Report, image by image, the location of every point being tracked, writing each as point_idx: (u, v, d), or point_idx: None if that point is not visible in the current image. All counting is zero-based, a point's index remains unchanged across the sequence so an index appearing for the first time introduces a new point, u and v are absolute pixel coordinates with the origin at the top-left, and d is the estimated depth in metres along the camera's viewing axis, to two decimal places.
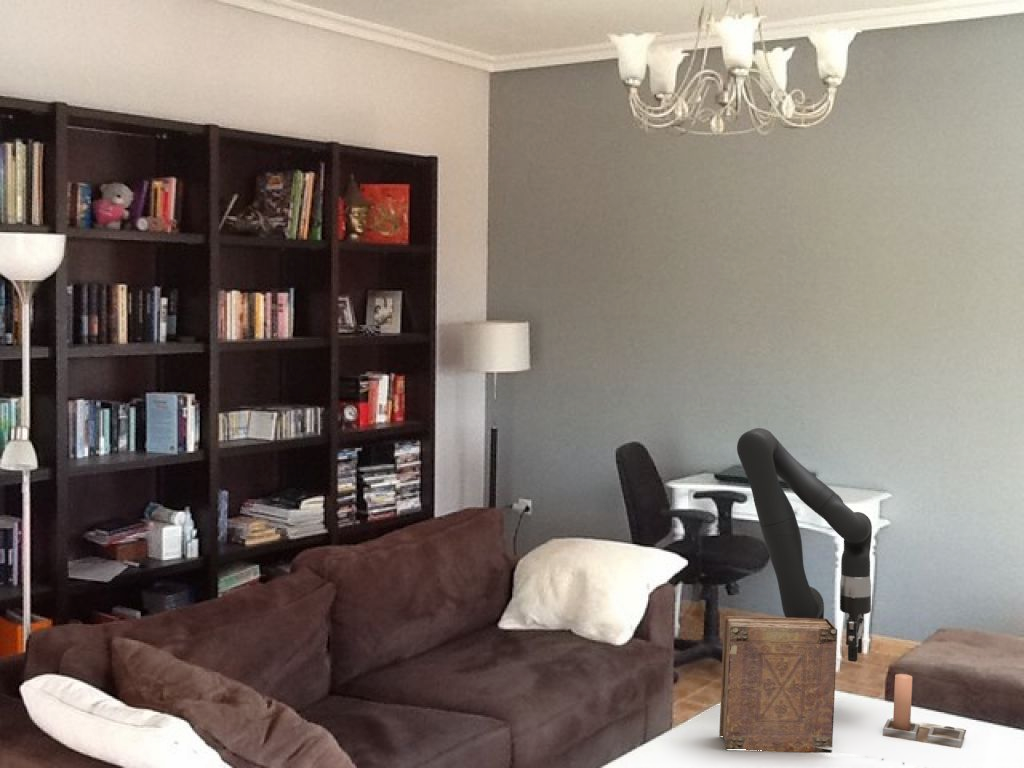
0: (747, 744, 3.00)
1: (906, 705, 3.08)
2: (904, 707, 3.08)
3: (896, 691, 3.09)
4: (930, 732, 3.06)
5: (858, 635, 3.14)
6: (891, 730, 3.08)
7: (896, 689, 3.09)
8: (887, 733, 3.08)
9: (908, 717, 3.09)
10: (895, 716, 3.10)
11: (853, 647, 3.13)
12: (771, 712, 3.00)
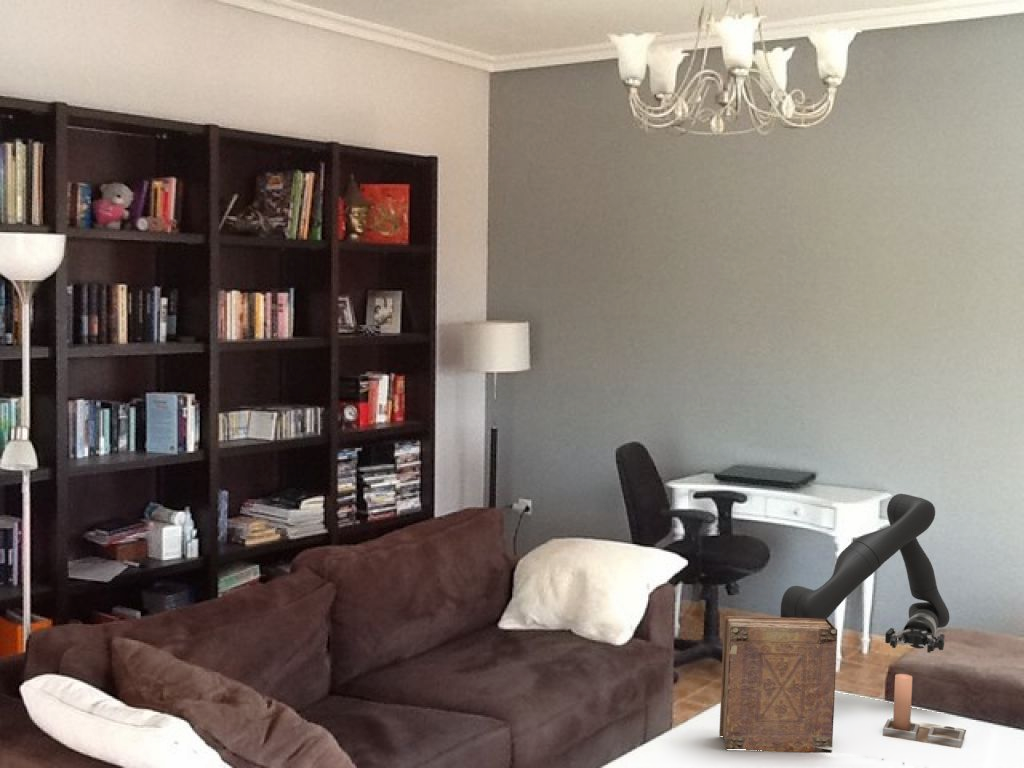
0: (747, 744, 3.00)
1: (906, 705, 3.08)
2: (904, 707, 3.08)
3: (896, 691, 3.09)
4: (930, 732, 3.06)
5: None
6: (891, 730, 3.08)
7: (896, 689, 3.09)
8: (887, 733, 3.08)
9: (908, 717, 3.09)
10: (895, 716, 3.10)
11: (935, 646, 3.20)
12: (771, 712, 3.00)
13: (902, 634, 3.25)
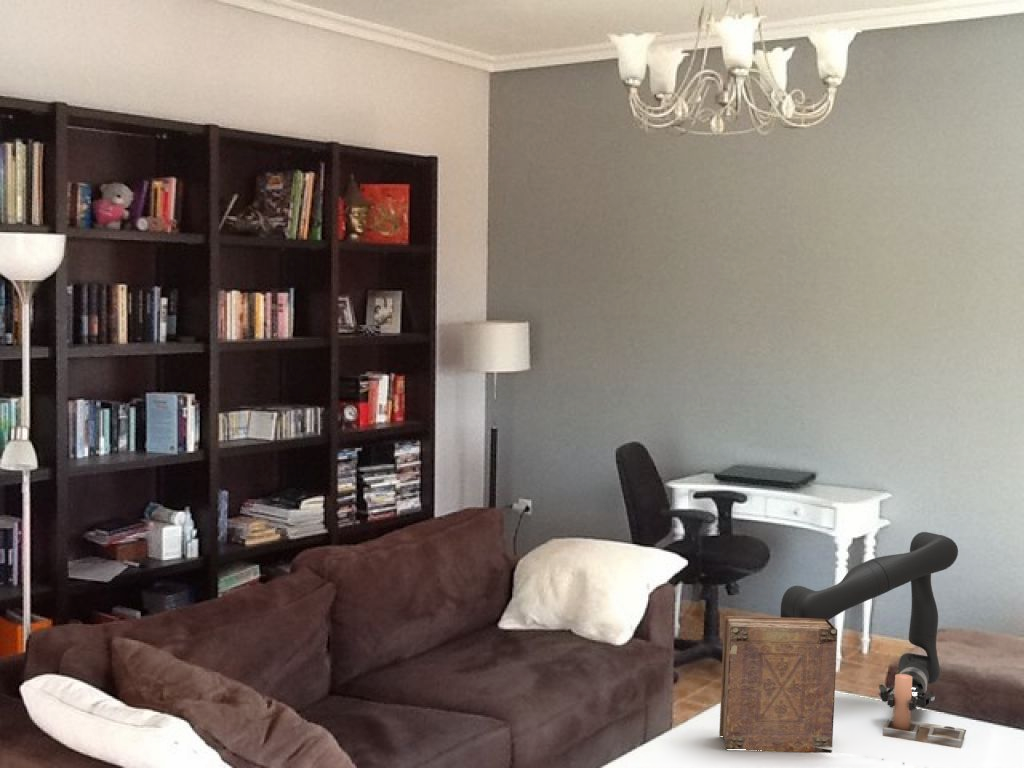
0: (747, 744, 3.00)
1: (906, 705, 3.08)
2: (904, 707, 3.08)
3: (896, 691, 3.09)
4: (930, 732, 3.06)
5: None
6: (891, 730, 3.08)
7: (896, 689, 3.09)
8: (887, 733, 3.08)
9: (908, 717, 3.09)
10: (895, 716, 3.10)
11: (916, 704, 3.09)
12: (771, 712, 3.00)
13: None
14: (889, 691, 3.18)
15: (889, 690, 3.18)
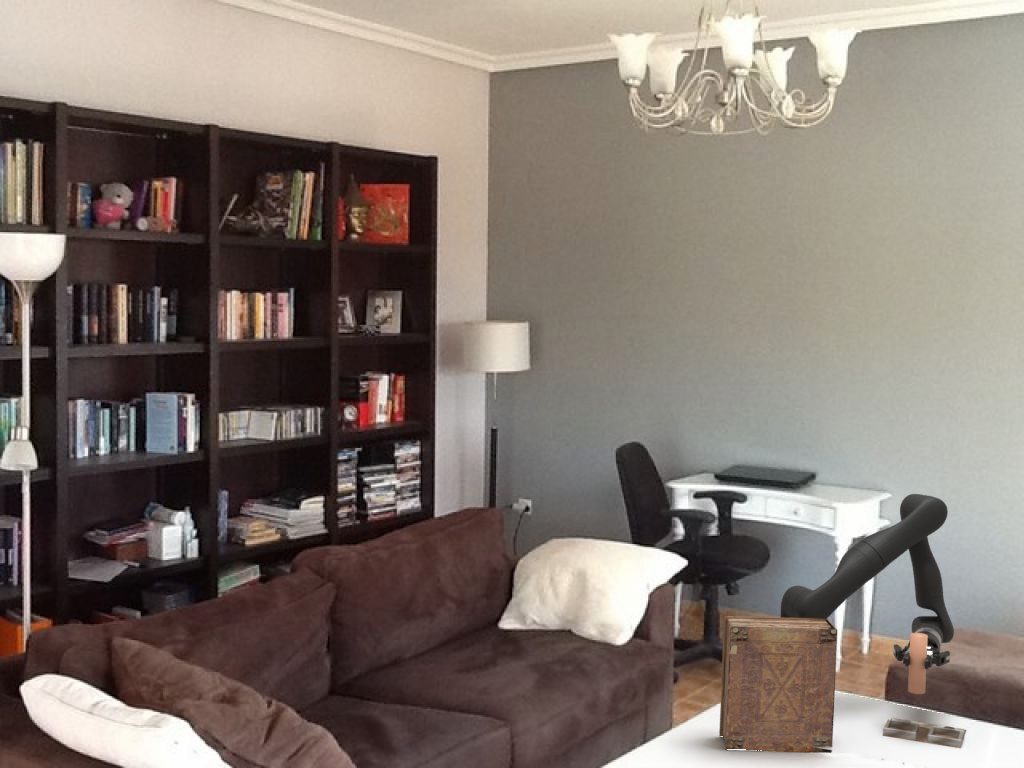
0: (747, 744, 3.00)
1: (922, 663, 3.06)
2: (920, 665, 3.06)
3: (911, 650, 3.07)
4: (930, 732, 3.06)
5: None
6: (891, 730, 3.08)
7: (911, 648, 3.07)
8: (887, 733, 3.08)
9: (923, 676, 3.07)
10: (910, 675, 3.08)
11: (931, 662, 3.08)
12: (771, 712, 3.00)
13: None
14: (904, 651, 3.16)
15: (904, 650, 3.16)
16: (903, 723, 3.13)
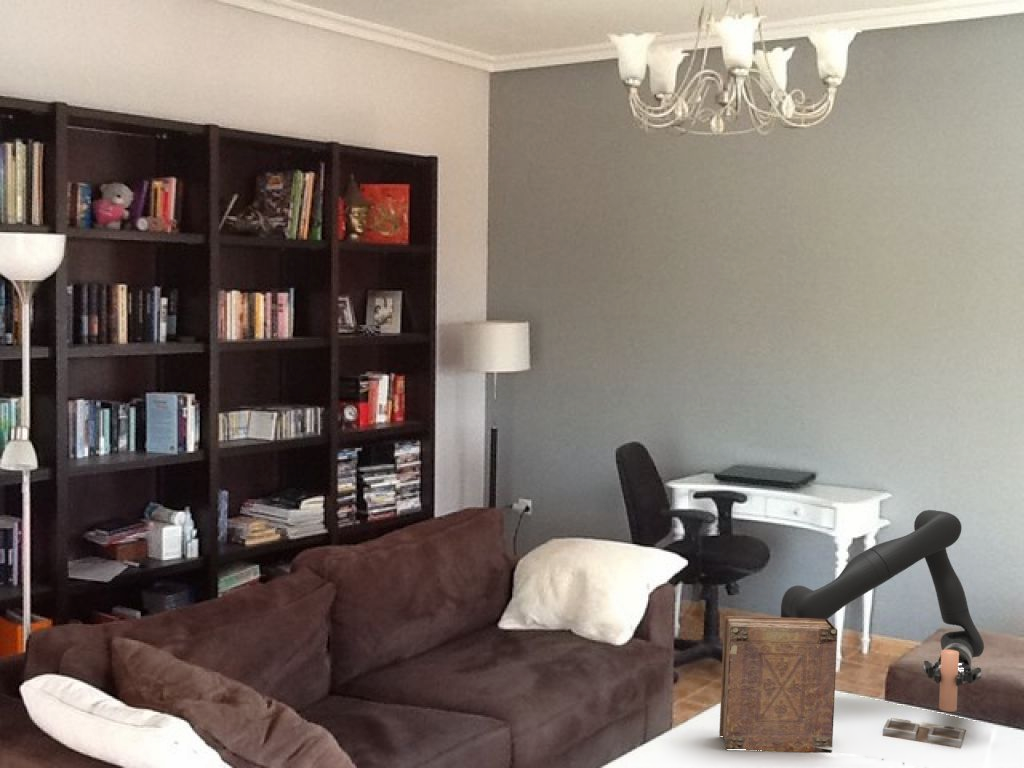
0: (747, 744, 3.00)
1: (953, 680, 3.03)
2: (951, 682, 3.03)
3: (942, 667, 3.04)
4: (930, 732, 3.06)
5: None
6: (891, 730, 3.08)
7: (942, 665, 3.04)
8: (887, 733, 3.08)
9: (955, 693, 3.04)
10: (941, 692, 3.05)
11: (963, 679, 3.05)
12: (771, 712, 3.00)
13: None
14: (934, 667, 3.13)
15: (934, 666, 3.13)
16: (903, 723, 3.13)
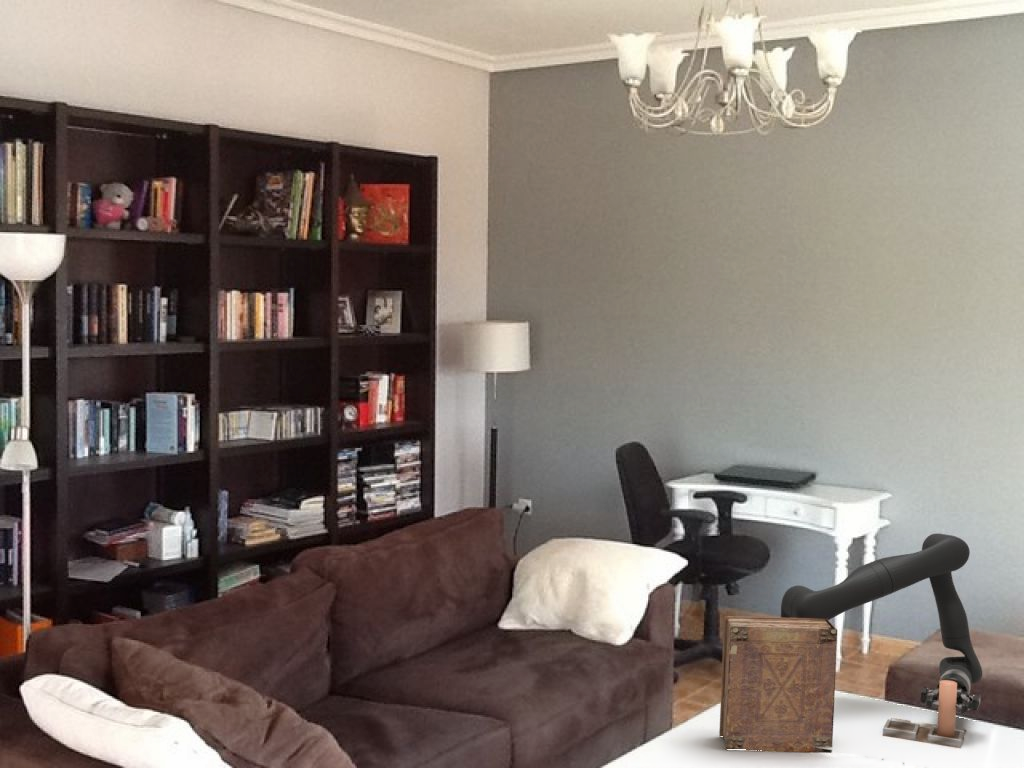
0: (747, 744, 3.00)
1: (951, 711, 3.04)
2: (949, 713, 3.04)
3: (941, 698, 3.05)
4: (930, 732, 3.06)
5: None
6: (891, 730, 3.08)
7: (941, 695, 3.05)
8: (887, 733, 3.08)
9: (953, 724, 3.04)
10: (940, 723, 3.05)
11: (969, 707, 3.05)
12: (771, 712, 3.00)
13: (938, 693, 3.10)
14: (932, 693, 3.14)
15: (932, 692, 3.14)
16: (903, 723, 3.13)
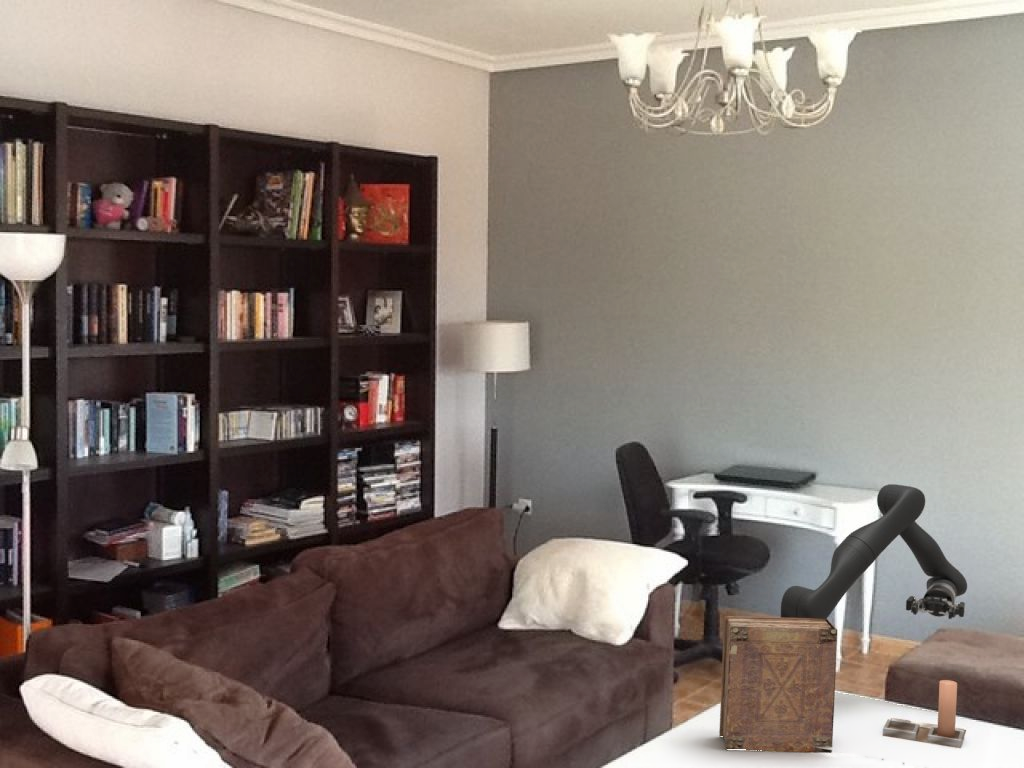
0: (747, 744, 3.00)
1: (951, 711, 3.04)
2: (949, 713, 3.04)
3: (941, 697, 3.05)
4: (930, 732, 3.06)
5: None
6: (891, 730, 3.08)
7: (941, 695, 3.05)
8: (887, 733, 3.08)
9: (953, 724, 3.05)
10: (940, 723, 3.05)
11: (956, 613, 3.23)
12: (771, 712, 3.00)
13: (923, 601, 3.28)
14: None
15: None
16: (903, 723, 3.13)
